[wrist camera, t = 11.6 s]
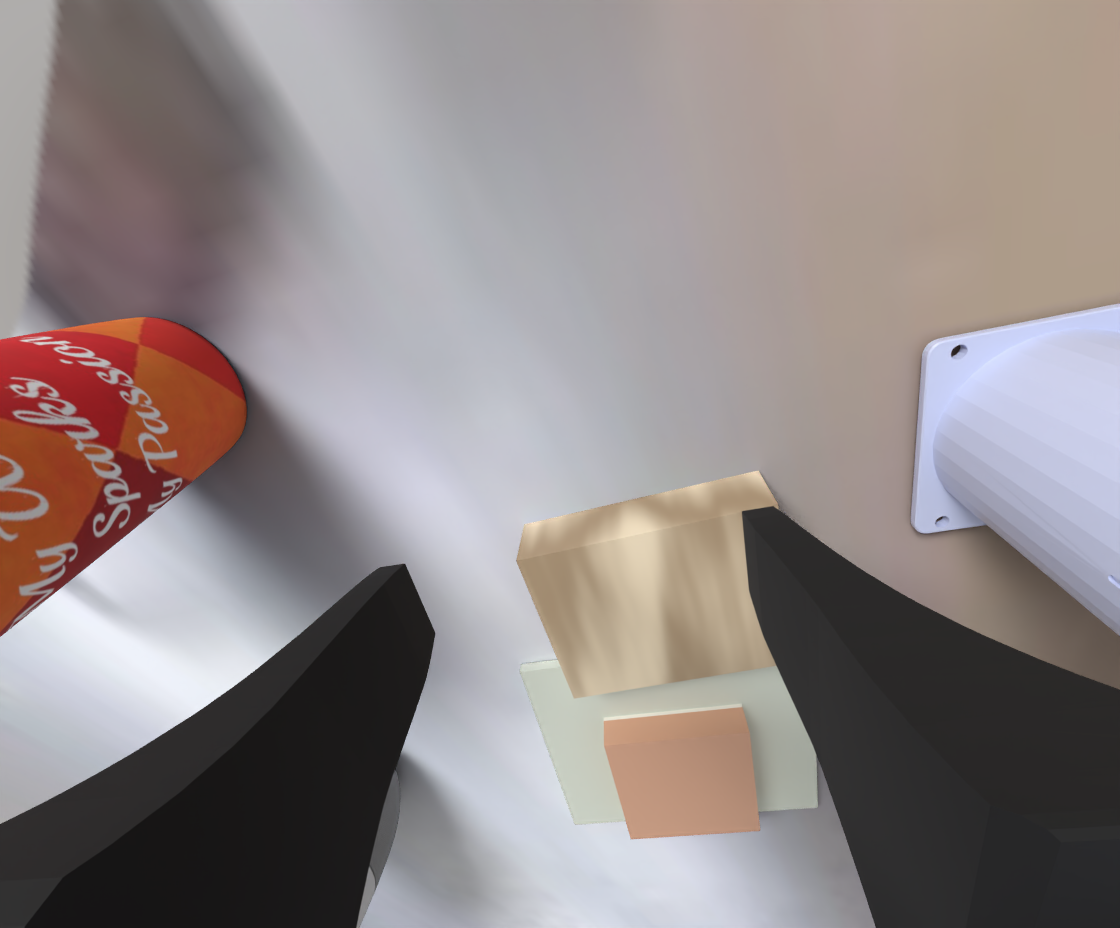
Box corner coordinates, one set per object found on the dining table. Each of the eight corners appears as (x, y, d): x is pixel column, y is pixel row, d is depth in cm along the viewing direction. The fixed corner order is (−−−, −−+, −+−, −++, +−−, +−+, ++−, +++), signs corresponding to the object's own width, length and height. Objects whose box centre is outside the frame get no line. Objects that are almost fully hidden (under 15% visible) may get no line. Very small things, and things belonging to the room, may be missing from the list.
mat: (809, 629, 25) (812, 637, 24) (814, 798, 30) (817, 807, 30) (521, 664, 27) (519, 671, 26) (575, 816, 32) (574, 824, 32)
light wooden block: (525, 519, 24) (755, 466, 22) (576, 648, 27) (779, 611, 25) (516, 560, 21) (778, 504, 19) (574, 698, 24) (801, 661, 22)
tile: (749, 732, 25) (760, 830, 29) (741, 703, 27) (752, 800, 30) (603, 745, 26) (630, 839, 30) (603, 717, 28) (629, 809, 31)
